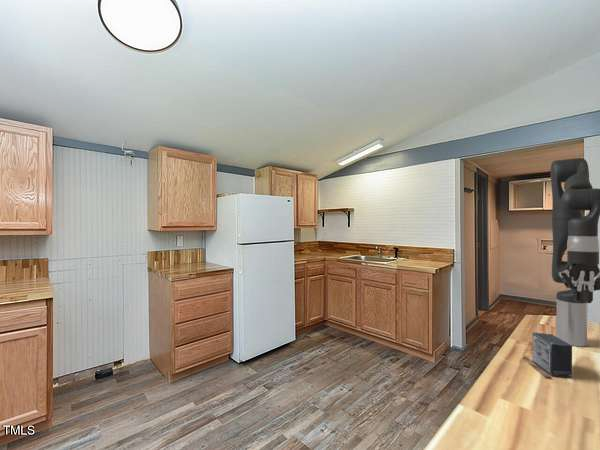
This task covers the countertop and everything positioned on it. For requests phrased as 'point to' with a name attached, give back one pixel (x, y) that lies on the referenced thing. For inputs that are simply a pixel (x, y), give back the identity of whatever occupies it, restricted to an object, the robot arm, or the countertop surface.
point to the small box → (552, 355)
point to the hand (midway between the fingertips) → (582, 302)
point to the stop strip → (537, 368)
